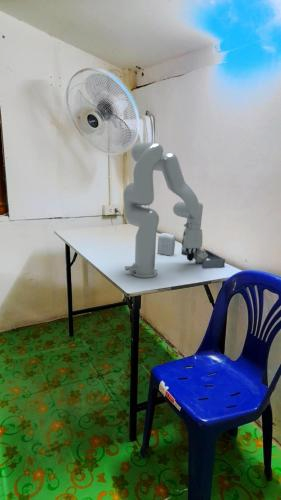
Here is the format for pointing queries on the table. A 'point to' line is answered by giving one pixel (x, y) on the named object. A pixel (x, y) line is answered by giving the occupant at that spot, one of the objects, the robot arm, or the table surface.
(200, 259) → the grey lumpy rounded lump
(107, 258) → the table surface
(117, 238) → the table surface
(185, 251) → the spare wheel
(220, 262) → the chassis bay
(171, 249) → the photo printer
